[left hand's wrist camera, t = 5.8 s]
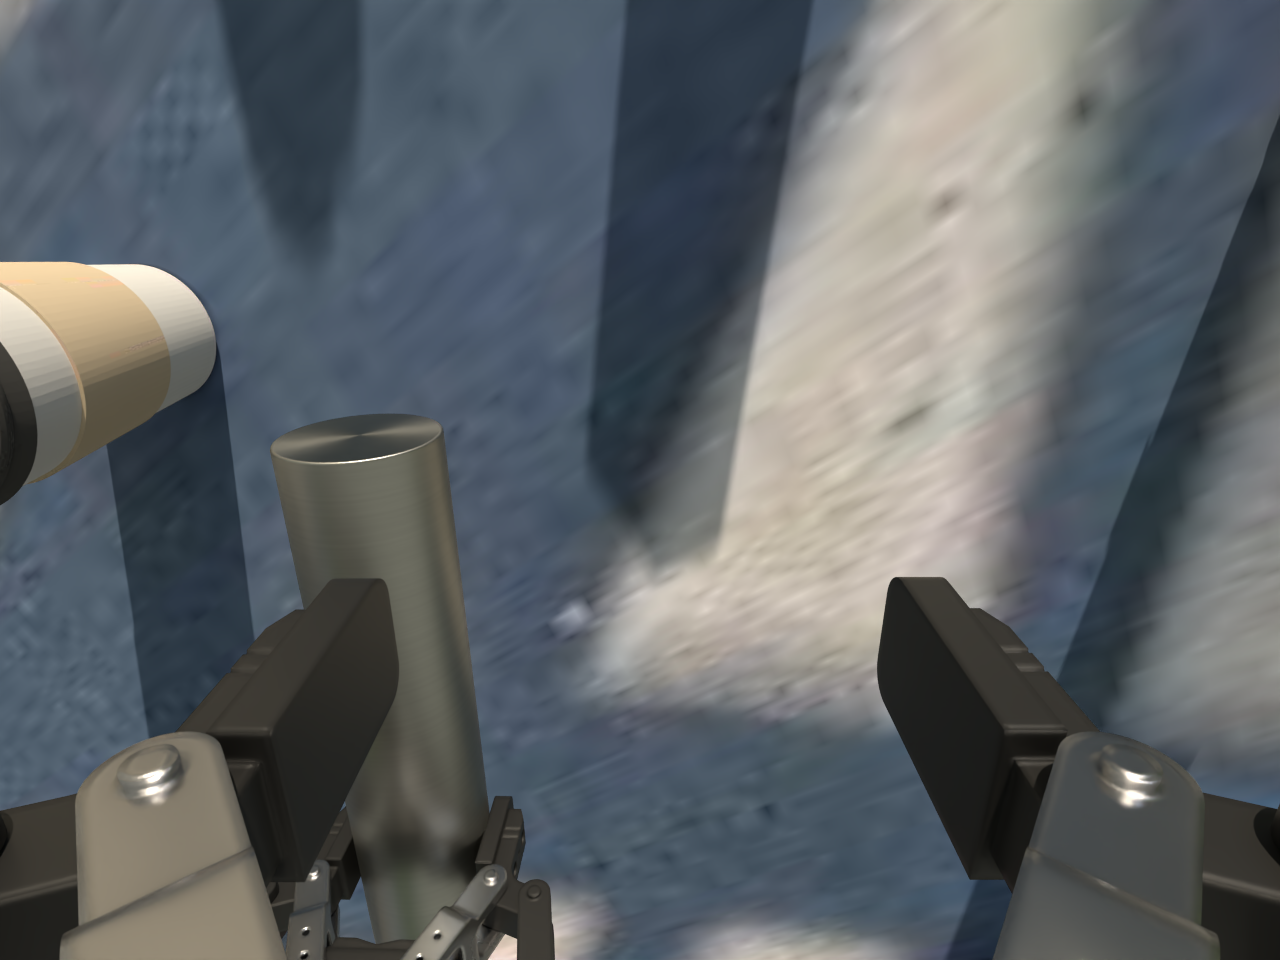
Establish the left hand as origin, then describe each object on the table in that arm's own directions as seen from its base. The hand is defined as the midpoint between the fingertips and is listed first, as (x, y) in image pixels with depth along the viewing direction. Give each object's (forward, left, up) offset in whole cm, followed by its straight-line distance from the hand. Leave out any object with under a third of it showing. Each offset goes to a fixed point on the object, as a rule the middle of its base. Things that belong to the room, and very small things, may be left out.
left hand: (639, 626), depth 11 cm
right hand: (-1, +21, -14) cm, 26 cm away
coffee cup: (+23, +13, -26) cm, 37 cm away
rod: (+3, +15, -15) cm, 22 cm away
